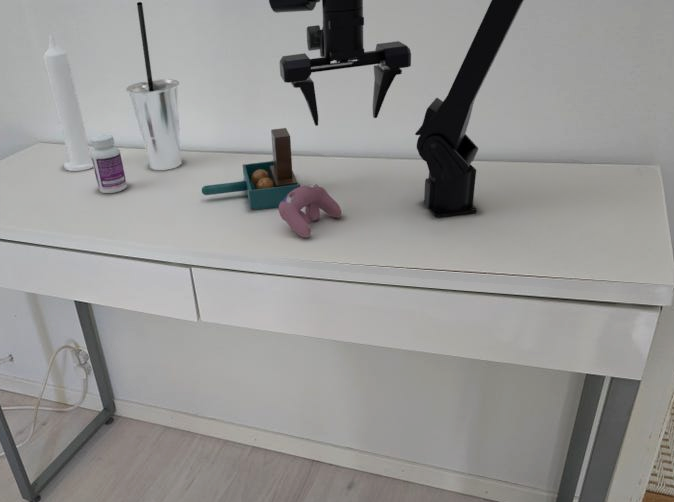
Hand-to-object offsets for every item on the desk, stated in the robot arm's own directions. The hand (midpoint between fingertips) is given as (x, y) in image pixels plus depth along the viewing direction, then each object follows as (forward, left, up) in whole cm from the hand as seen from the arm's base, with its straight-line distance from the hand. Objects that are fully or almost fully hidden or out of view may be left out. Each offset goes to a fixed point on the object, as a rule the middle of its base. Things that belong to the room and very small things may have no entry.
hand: (345, 121), depth 103 cm
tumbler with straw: (+31, -30, -13) cm, 44 cm away
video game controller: (+8, +8, -13) cm, 17 cm away
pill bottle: (+41, -20, -13) cm, 47 cm away
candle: (+49, -37, -13) cm, 62 cm away
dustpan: (+16, -8, -13) cm, 22 cm away
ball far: (+13, -10, -11) cm, 20 cm away
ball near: (+13, -5, -11) cm, 18 cm away
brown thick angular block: (+9, -8, -13) cm, 17 cm away
